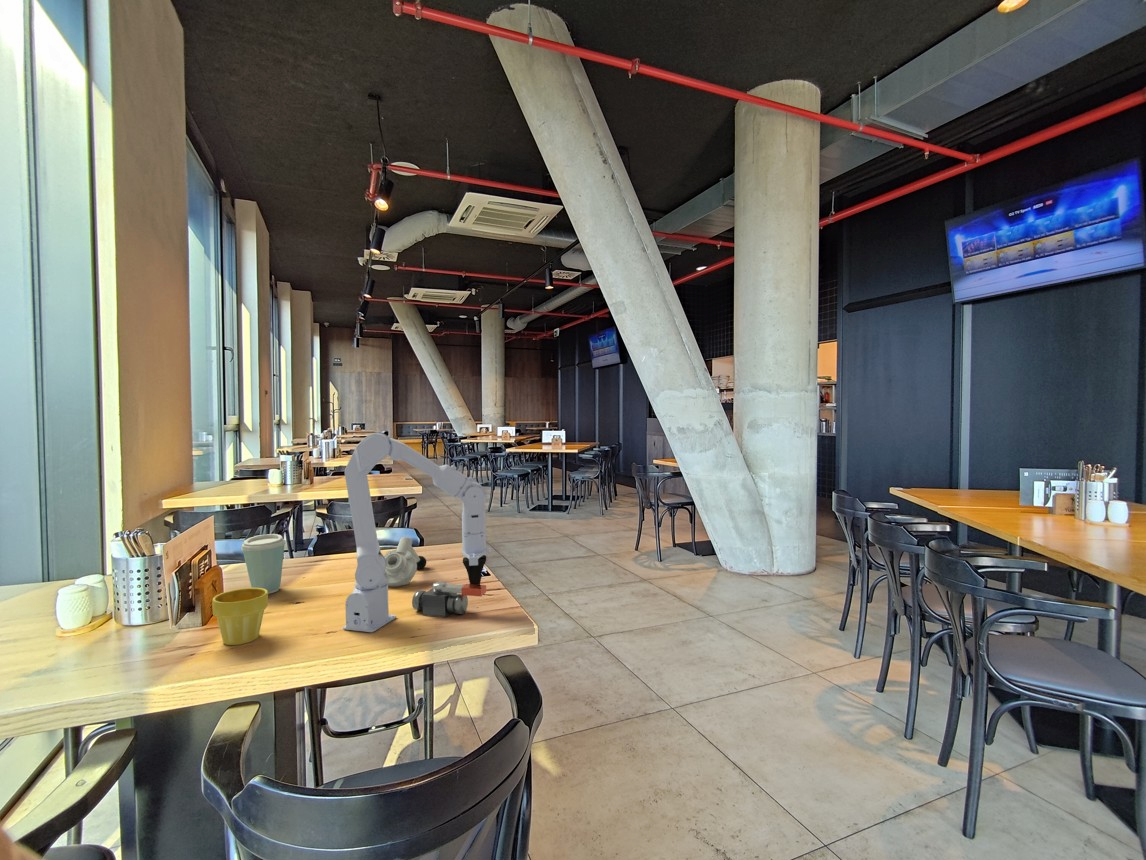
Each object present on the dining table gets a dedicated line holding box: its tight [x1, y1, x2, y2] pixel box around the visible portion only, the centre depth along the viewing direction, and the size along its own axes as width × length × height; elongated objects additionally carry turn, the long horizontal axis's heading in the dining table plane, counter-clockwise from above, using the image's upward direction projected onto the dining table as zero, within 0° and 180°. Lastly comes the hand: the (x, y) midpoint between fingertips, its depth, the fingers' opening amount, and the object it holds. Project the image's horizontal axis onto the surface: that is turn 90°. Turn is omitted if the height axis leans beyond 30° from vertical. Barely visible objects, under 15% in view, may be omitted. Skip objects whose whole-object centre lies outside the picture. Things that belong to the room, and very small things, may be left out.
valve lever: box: [432, 580, 487, 597], centre depth 132 cm, size 13×3×2 cm, turn 76°
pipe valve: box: [411, 588, 469, 618], centre depth 133 cm, size 6×13×5 cm, turn 74°
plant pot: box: [211, 587, 269, 646], centre depth 118 cm, size 10×10×10 cm
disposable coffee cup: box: [240, 533, 286, 595], centre depth 150 cm, size 11×11×15 cm
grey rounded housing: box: [383, 536, 427, 588], centre depth 161 cm, size 10×20×15 cm
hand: (475, 586), depth 133 cm, fingers closed
